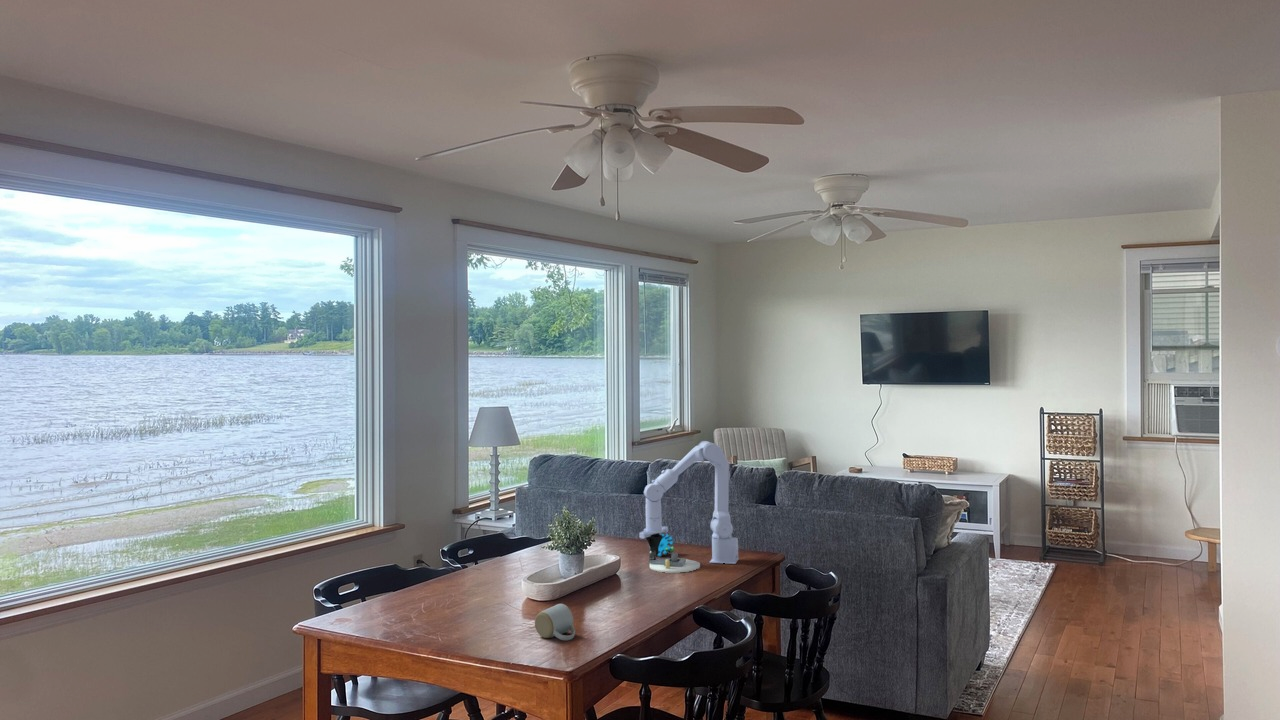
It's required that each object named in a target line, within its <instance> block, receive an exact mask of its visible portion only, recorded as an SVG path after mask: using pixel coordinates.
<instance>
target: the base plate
mask: <svg viewBox="0 0 1280 720" xmlns="http://www.w3.org/2000/svg"><path fill="white" fill-rule="evenodd" d="M670 558H671V561H678V558H679V553H678V552H674V553H670ZM665 559H666V560H665V563H666V565H663V564H652V563H649V569H650V570H651V571H654V572H656V571H657V573H662V572H665V574H681V573H680V572H686V573H690V572H689V571H692V572H694V571H693V570H696V569H698V568H699V569H701V563H700V562H699V561H696V560H692V559H686V562H685V564H684V565H683V566H670V563H669V559H667V558H665ZM699 569H698V570H699ZM696 571H697V570H696Z"/></svg>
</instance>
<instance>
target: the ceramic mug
mask: <svg viewBox="0 0 1280 720" xmlns="http://www.w3.org/2000/svg"><path fill="white" fill-rule="evenodd" d="M534 627H535V630H536V633H537V634H538V635H539V636H540V637H542V638H544V639H551V638H554V637H555V638H557V639H559V640H561V641H570V640H573V638H574V637H575V634H576V629H575V627H574V617H573V614H572V611H571V609H570V608H569V607H568V606H567V605H566V604H564V603H557V604H555V605H554V606H551V607H548V608H546V609H544V610H542V611H539V613H537V614H536V616H535V619H534ZM568 632H571V634H570V635H565V633H568Z"/></svg>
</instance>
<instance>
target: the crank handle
mask: <svg viewBox="0 0 1280 720" xmlns="http://www.w3.org/2000/svg"><path fill="white" fill-rule="evenodd" d="M648 557H649V558H648V559H649V564H650V563H652V564H663V565H666V563H665V560H666V559H669V563H670V566H683V565H684V564H685V562H686V558H682V557H678V561H671V557H666V558H657V556H656V551H655V550H651V551H650V550H649V556H648Z"/></svg>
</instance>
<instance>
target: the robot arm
mask: <svg viewBox="0 0 1280 720" xmlns="http://www.w3.org/2000/svg"><path fill="white" fill-rule="evenodd" d="M705 460H707V461H708V462H709V463H710V464H711V465H712V466H713V467H714V510H713V513H712V519H711V520H710V524H709V526H710V530H711V531H712V534H711V554H712V556H711V559H710V561H709V564H723V563H725V564H726V565H727V564H728V565H729V564H731V565H736V564H737V563H738V561H739V541H738V540H739V539H738V537H733V536H732V534H733V532H734V527H733V524H732V522H731V519H732V518H731V515H730V512H729V494H730V493H729V492H730V491H729V489H730V488H729V487H730V486H729V485H730V484H729V483H730V463H729V460H728V458H727V457H726V455H725V454H724V452H723V448H721V447H720V446H719V445H718V444H716V443H713V442H710V441H708V440H702V441H700V442H698V445H696V446H694V447H693V448H692V449H691V450H690V451H689V452H688V453H687V454H686V455H685V456H683V458H682V459H681V460H679V461H678V463H676V464H675V466H673V468H666V469H663V470H662V471H661V472H660V473H661V474H659V476H657V477H656V478H655V479H652V480H651V483H648V484H647V485H645V487H644V490H643V495H644V497H645V506H644V507H645V528H643V530H642V531H640V532H639V537H638V538H639V539H643V540H644V539H646V541H647V543H648V544H649V545H648V546H649V547H650V548H649V551H651V550H655V551H656V557H658V554H659V553H658V548H659V544H660V542H661V540H662V538H663V535H661V534H664V533H668V532H669V527H668V526H665V525H664V526H662V525H663V524H662V521H663V519H662V501H661V500H662V498H663V496H664V493H666V492H667V491H668V490H670V489H671V487H672V486H674V484H676V483H677V482H678V479H679V476H680V475H681V474H682V473H683V472H684V471H686V470H687V469H688V468H689V467H691V466H692V465H693V464H694V463H696V462H703V461H705ZM725 564H724V565H725Z"/></svg>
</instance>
